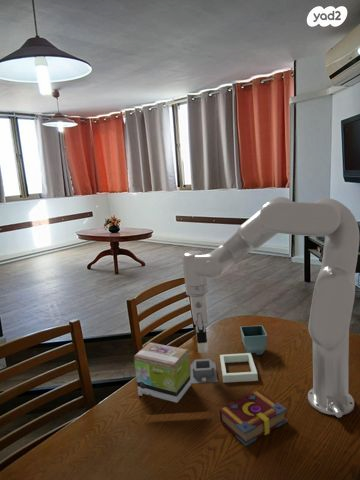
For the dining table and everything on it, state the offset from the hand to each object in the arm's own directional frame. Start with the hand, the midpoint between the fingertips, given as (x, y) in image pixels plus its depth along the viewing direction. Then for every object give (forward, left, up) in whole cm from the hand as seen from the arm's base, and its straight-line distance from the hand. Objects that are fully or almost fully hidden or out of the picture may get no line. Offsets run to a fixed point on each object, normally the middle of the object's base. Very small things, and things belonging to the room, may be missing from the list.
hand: (202, 339), depth 119 cm
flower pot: (+14, -20, -14) cm, 28 cm away
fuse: (0, 0, -4) cm, 4 cm away
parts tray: (0, -12, -14) cm, 18 cm away
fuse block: (0, 0, -14) cm, 14 cm away
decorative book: (-23, -13, -15) cm, 30 cm away
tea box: (-8, +13, -14) cm, 21 cm away
